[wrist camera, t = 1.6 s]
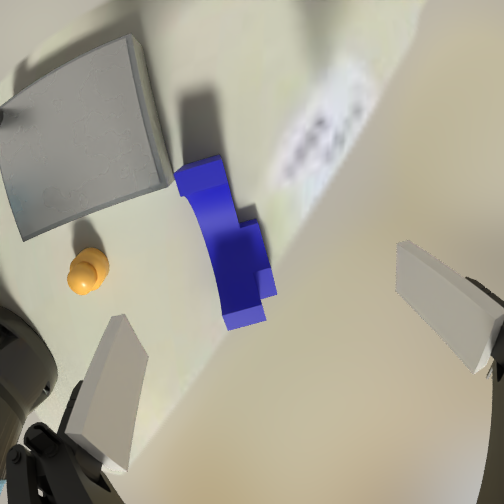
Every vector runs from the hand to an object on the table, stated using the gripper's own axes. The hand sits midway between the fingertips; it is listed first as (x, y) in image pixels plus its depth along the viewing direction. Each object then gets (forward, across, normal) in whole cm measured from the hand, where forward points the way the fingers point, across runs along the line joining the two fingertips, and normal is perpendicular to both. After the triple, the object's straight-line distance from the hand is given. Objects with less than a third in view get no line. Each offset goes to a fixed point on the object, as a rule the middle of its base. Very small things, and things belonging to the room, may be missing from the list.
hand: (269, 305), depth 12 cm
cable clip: (+13, -1, 0) cm, 13 cm away
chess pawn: (+12, -14, 0) cm, 19 cm away
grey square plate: (+12, -12, +11) cm, 20 cm away
